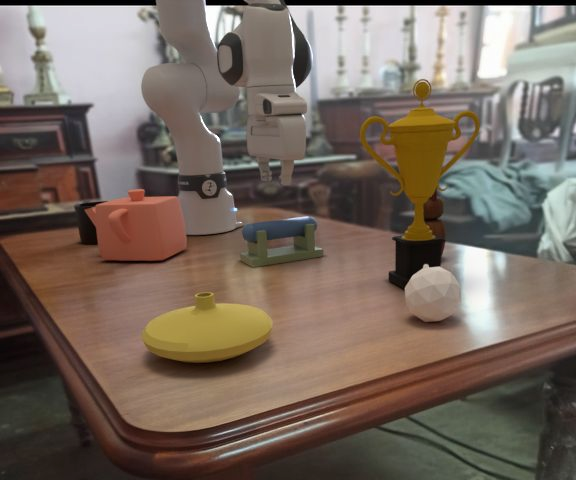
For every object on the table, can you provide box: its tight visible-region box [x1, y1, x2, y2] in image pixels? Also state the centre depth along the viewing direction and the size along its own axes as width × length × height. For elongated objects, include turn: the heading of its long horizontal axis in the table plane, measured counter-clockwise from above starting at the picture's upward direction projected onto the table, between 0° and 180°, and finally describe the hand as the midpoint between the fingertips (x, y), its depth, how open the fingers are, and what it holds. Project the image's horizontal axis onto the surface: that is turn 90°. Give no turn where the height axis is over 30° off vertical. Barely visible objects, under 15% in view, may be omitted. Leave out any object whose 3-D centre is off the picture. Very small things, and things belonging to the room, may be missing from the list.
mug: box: [74, 200, 109, 245], centre depth 145 cm, size 9×12×9 cm
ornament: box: [404, 264, 462, 323], centre depth 77 cm, size 7×7×8 cm
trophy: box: [359, 78, 481, 290], centre depth 89 cm, size 19×10×30 cm, turn 105°
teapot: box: [85, 188, 188, 262], centre depth 124 cm, size 20×22×14 cm
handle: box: [241, 215, 318, 243], centre depth 115 cm, size 16×4×4 cm, turn 114°
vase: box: [141, 291, 274, 364], centre depth 70 cm, size 16×16×7 cm
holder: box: [239, 224, 324, 268], centre depth 115 cm, size 7×15×6 cm, turn 114°
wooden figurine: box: [423, 188, 447, 257], centre depth 106 cm, size 7×6×15 cm
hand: (275, 183), depth 112 cm, fingers open, 8 cm apart
